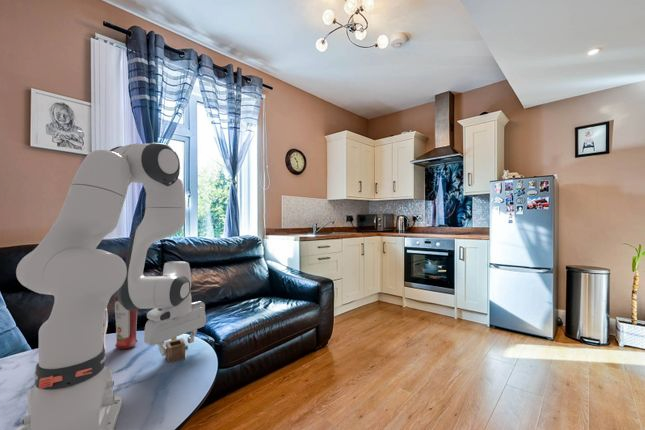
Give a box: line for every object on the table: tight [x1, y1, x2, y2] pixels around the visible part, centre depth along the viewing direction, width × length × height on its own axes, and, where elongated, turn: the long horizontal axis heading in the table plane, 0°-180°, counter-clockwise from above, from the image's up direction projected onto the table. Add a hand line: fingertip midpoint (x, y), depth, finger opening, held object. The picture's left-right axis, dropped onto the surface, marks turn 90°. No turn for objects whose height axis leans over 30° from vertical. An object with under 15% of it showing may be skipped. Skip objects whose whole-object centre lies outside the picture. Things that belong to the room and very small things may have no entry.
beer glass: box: [103, 306, 109, 351], centre depth 103 cm, size 7×7×15 cm
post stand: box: [163, 336, 189, 350], centre depth 106 cm, size 8×8×7 cm
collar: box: [165, 337, 186, 364], centre depth 98 cm, size 6×5×5 cm
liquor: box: [113, 294, 138, 350], centre depth 107 cm, size 7×7×28 cm
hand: (177, 347), depth 99 cm, fingers open, 8 cm apart
